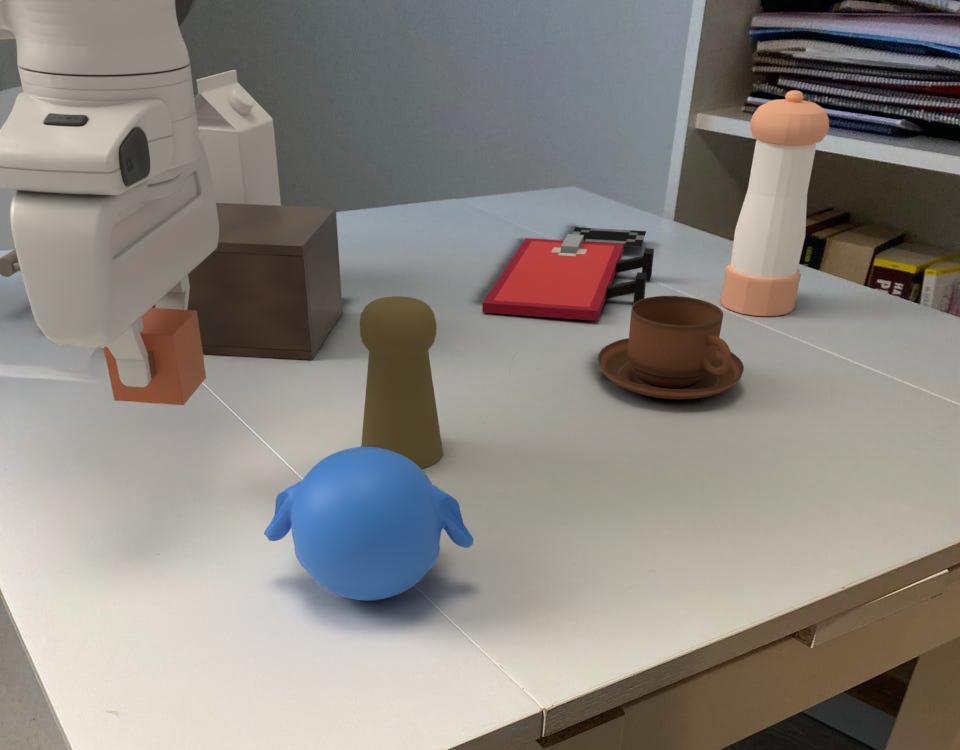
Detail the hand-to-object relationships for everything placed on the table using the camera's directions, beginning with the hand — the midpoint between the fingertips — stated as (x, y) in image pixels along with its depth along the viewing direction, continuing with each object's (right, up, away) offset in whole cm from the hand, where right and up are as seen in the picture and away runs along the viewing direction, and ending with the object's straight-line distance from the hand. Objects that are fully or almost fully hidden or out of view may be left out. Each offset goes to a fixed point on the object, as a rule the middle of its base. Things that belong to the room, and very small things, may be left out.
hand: (156, 364), depth 64 cm
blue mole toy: (+14, -13, -3) cm, 20 cm away
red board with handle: (+31, +22, +45) cm, 59 cm away
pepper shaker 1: (+15, -4, +10) cm, 18 cm away
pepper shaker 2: (+49, +16, +38) cm, 64 cm away
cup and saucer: (+36, +4, +21) cm, 42 cm away
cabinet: (-1, +11, +29) cm, 31 cm away
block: (0, -1, +1) cm, 2 cm away
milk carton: (-4, +20, +41) cm, 46 cm away
